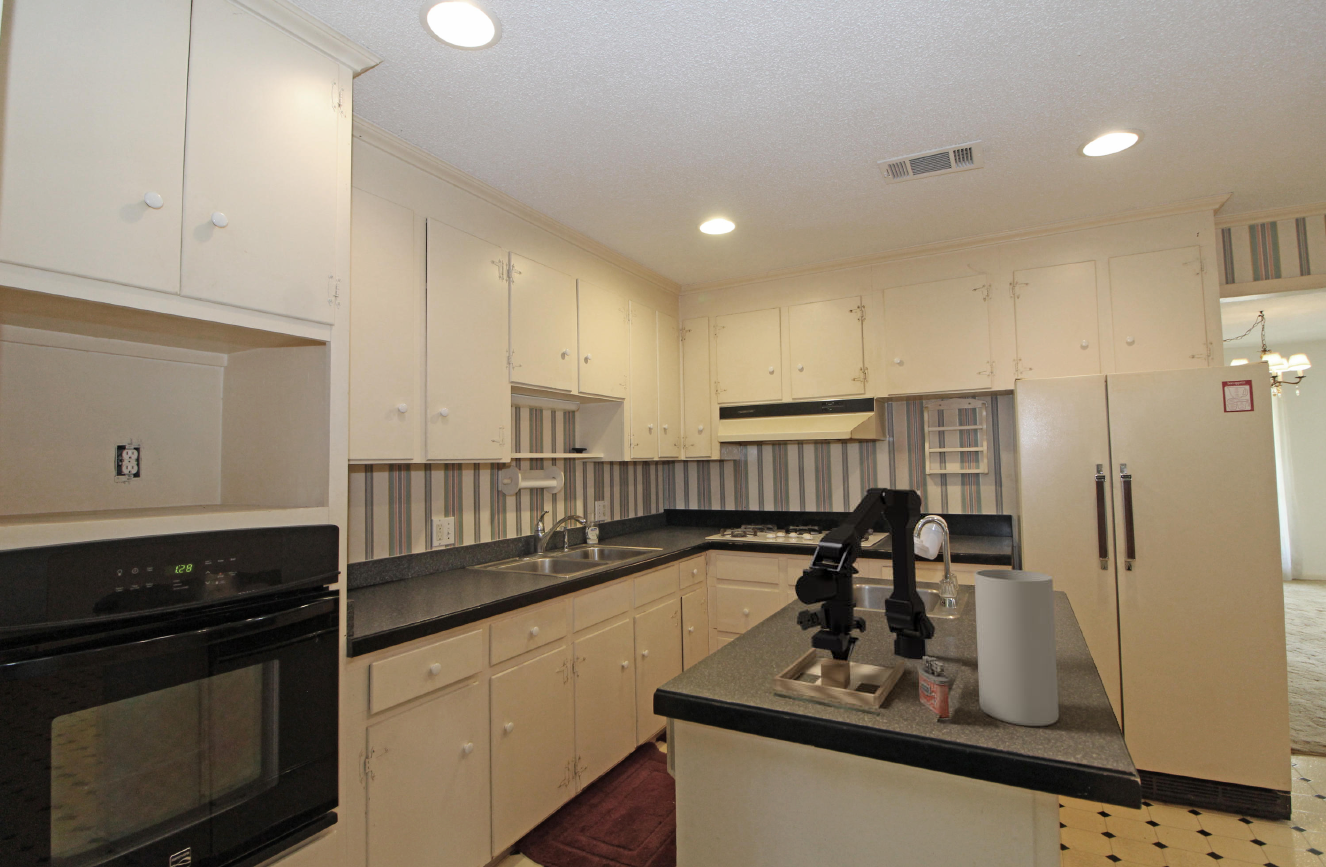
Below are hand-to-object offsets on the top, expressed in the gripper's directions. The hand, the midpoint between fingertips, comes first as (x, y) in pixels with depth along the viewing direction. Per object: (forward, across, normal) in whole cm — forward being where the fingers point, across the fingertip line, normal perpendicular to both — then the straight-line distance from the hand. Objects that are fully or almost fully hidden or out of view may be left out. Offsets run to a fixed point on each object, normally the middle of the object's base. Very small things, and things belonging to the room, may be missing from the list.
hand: (840, 674), depth 128 cm
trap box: (+2, 0, 0) cm, 3 cm away
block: (+1, +4, 0) cm, 4 cm away
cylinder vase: (+3, -2, +32) cm, 32 cm away
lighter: (+3, +6, +19) cm, 20 cm away
